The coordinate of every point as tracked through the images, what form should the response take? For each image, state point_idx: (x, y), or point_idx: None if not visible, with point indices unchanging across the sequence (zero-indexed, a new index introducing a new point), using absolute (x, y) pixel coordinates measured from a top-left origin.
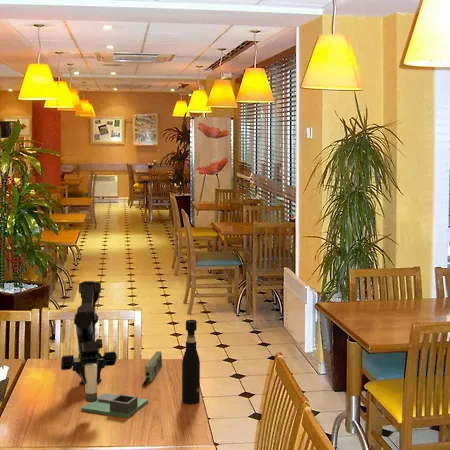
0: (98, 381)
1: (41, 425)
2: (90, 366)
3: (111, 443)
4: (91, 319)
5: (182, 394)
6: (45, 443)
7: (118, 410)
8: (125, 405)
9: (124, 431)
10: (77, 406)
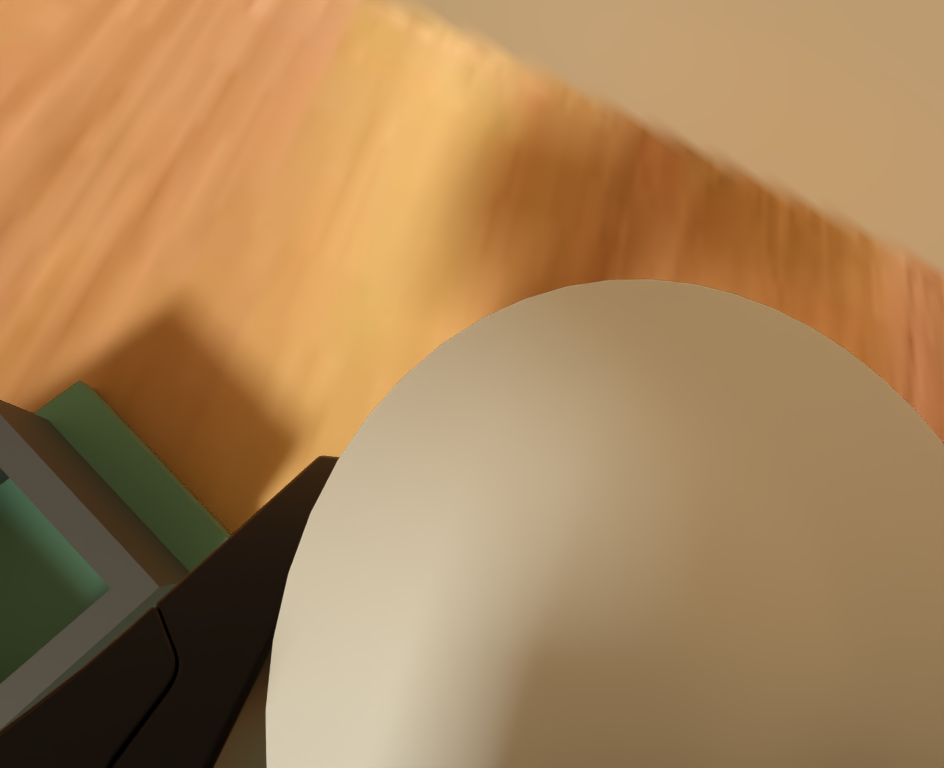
0: (328, 456)
1: None
2: (754, 371)
3: (409, 32)
4: None
5: None
6: (788, 220)
7: (118, 502)
8: (20, 422)
9: (250, 148)
10: None
